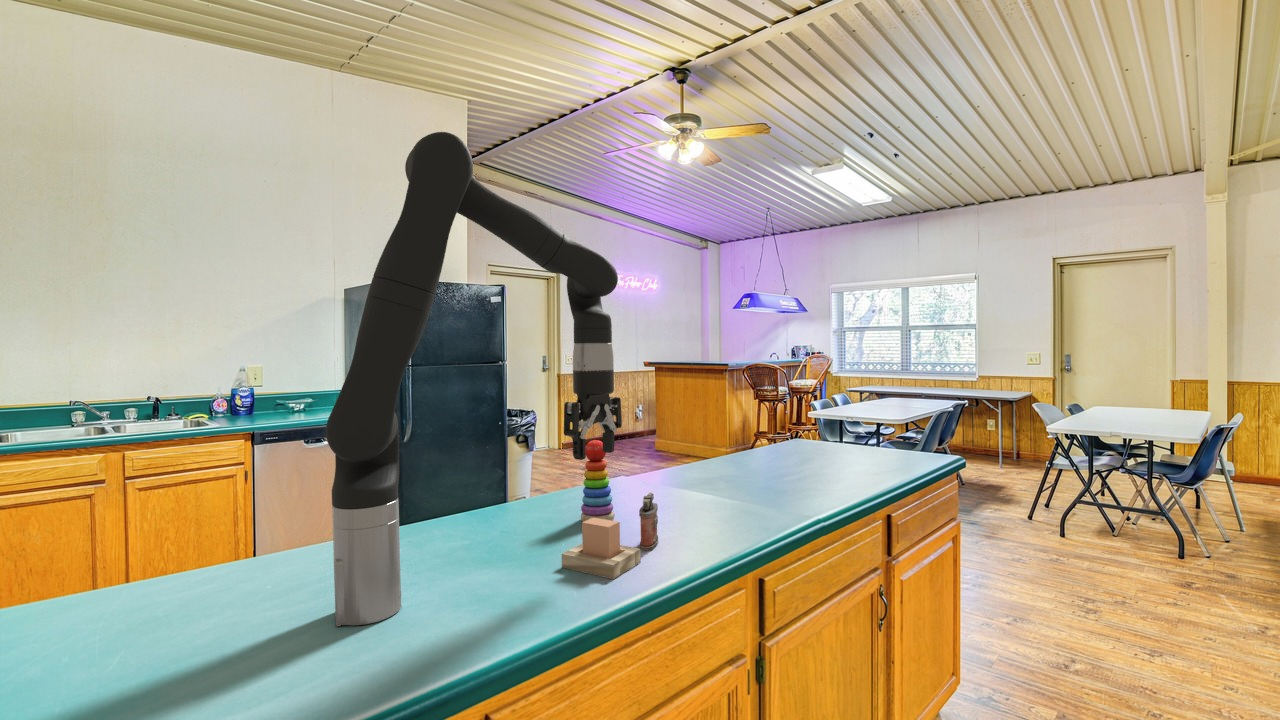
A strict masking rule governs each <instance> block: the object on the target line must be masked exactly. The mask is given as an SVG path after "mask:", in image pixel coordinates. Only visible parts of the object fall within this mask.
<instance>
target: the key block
mask: <svg viewBox="0 0 1280 720" xmlns="http://www.w3.org/2000/svg"><path fill="white" fill-rule="evenodd" d="M620 526H621V525H620V521H616V520H612V521H611V520H605V519H599V518H591V519H589V520H587V521H584V522H583V521H582V523H581V530H582V531H581V532H582V533H581V535H582V537H581V539H582V543H583V554H588V555H593V556H597V557H602V558H607V559H612V558H613V557H615V556H617V555H619V554H620V545H621V537H620V536H621V534H620V533H621V531H620V529H621V527H620Z"/></svg>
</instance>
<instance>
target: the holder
mask: <svg viewBox="0 0 1280 720" xmlns="http://www.w3.org/2000/svg"><path fill="white" fill-rule="evenodd" d="M641 556H642V555H641V550H640V548H638V547H637V548H636V547H632V546H627V545H622V544H620V554H619V555H617V556H615V557H613V558H612V559H607V558H602V557H597V556H593V555H588V554H583V542H581V544H579V545H577V546H574V547H573V548H571V549H569V550H566V551H564V552H562V553H561V568H563V569H568V570H572V571H577V572H581V573H584V574H590V575H595V576H598V577H603V578H606V579H611V580H616V579H617V578H618V577H619V576H621V575H624V574H625V573H626V572H627V571H629V570H631V569H633V568H634V567H636V566H637V565H639V564H640V563H641V558H642V557H641Z"/></svg>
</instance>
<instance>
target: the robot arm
mask: <svg viewBox="0 0 1280 720" xmlns="http://www.w3.org/2000/svg"><path fill="white" fill-rule="evenodd" d="M472 157H473V156H472V154H471V152H470V149H469V148H468V145H466V143H465V142H464V141H463V140H462V139H461V138H460V137H458V136H457V135H455V134H453V133H450V132H446V131H437V132H432V133H429V134H427V135H425V136H423V137H422V138H420V139H419V140H418V141H417V142H416V143H415V145H414V146H413V148H412V149H411V151H410V152H409V153H408V156H407V158H406V161H405V166H404V169H405V170H404V171H405V176H406V179H407V181H408V186H407V189H406V192H405V193H406V195H405V200H404V203H403V207H402V210H401V212H400V216H399V218H398V219H397V222H396V225H395V226H394V228H393V230H392V233H391V234H390V236H389V238H388V240H387V242H386V244H385V246H384V248H383V251H382V253H381V256H380V258H379V260H378V263H377V265H376V267H375V270H374V273H373V275H372V276H373V277H372V278H371V283H370V285H369V288H368V291H367V292H368V293H367V295H366V299H365V303H364V307H363V311H362V314H361V315H362V316H361V319H360V324H359V326H358V327H359V328H358V331H357V335H356V339H355V340H356V342H355V345H354V352H353V356H352V361H351V363H350V365H349V366H350V367H349V370H348V373H347V374H346V377H345V380H344V382H343V385H342V387H341V390H340V391H339V393H338V394H339V395H338V396H337V399H336V401H335V403H334V405H333V407H332V410H331V411H330V413H329V416H328V419H327V422H326V426H325V438H326V442H327V444H328V446H329V449H330V450H331V451H332V452H333V453H334V455H335V456H334V457H335V458H334V459H335V460H334V461H335V462H334V464H335V467H334V478H333V483H332V487H331V506H332V508H331V509H332V537H333V538H332V541H333V542H332V543H333V552H332V553H333V581H334V583H333V585H334V612H335V613H334V615H335V619H334V620H335V627H341V625H342V626H361V625H369V624H373V623H377V622H381V621H384V620H386V619H389V618H390V617H392V616H394V615H395V614H397V613H398V612H399V611H400V610H401V608H402V582H401V581H402V580H401V578H402V577H401V575H402V574H401V549H400V548H401V546H400V545H401V544H400V543H401V542H400V514H399V513H400V512H399V511H400V509H399V506H400V505H399V483H400V482H399V481H400V479H399V478H400V437H399V436H400V434H399V431H400V430H399V420H398V417H397V413H396V407H397V403H398V398H399V392H400V388H401V385H402V381H403V377H404V373H405V371H406V369H407V366H408V365H409V362H410V361H411V359H412V356H413V354H414V353H415V351H416V348H417V347H418V345H419V342H420V340H421V338H422V336H423V333H424V331H425V328H426V325H427V324H428V321H429V317H430V314H431V311H432V308H433V304H434V301H435V298H436V293H437V289H438V285H439V281H440V277H441V274H442V269H443V265H444V261H445V256H446V251H447V247H448V241H449V237H450V233H451V230H452V226H453V224H454V220H455V218H456V217H457V216H456V215H457V214H458V215H460V216H463V218H466V219H468V220H470V221H471V222H473V223H475V224H477V225H478V226H479V227H482V228H483V229H485V230H487V231H488V232H490V233H491V234H493V235H494V236H496V237H498V238H499V239H500V240H501V241H504V242H505V243H506V244H508V245H509V246H511V247H512V248H514V249H515V250H517V251H518V252H519V253H520V254H522V255H524V256H525V257H526V258H528V259H529V260H531V261H532V262H533V263H534V264H537V266H539V267H541V268H542V269H544V270H546V271H548V272H549V273H552V274H559V275H560V274H561V275H562V276H565V277H566V278H567V279H566V292H567V298H568V303H569V307H570V312H571V314H572V320H573V349H572V388H573V389H572V392H573V394H575V395H576V398H577V399H576V402H573V401H565V402H564V405H563V407H564V408H563V411H564V412H563V435H564V436H566V437H570V438H571V440H572V456H573V459H575V460H579V461H583V460H586V459H587V457H586V439H585V438H586V435H587V432H588V430H589V429H591V428H592V426H593V425H595V424H598V425H600V428H601V430H602V431H603V432H602V436H601V437H602V442H603V451H604V452H606V454H608V453H609V454H610V453H613V452H614V451H615V433H616V432H617V429H621V428H623V427H622V426H623V423H622V402H621V401H622V400H621V397H619V396H610V395H611V394H613V393H614V391H615V379H614V378H615V377H614V373H615V372H614V369H615V367H614V350H613V337H612V336H613V335H612V334H613V329H612V318H611V316H610V314H609V313H608V312H606V311H604V309H603V305H602V300H601V299H602V298H603V297H606V296H608V295H610V294H611V293H612V292H613V291H614V290H615V289H616V287H617V286H618V282H619V278H618V277H619V276H618V272H617V270H616V268H615V266H614V265H613V263H612V262H611V261H610V260H609V259H608V258H606V257H605V256H604V255H602V254H601V253H598V251H595V250H593V249H591V248H589V247H587V246H585V245H583V244H581V243H578V242H576V241H574V240H572V239H571V238H569V237H568V236H567V235H566V234H565V233H563V232H561V230H558V228H556V227H555V226H553V225H552V224H551V223H550V222H548V221H547V220H545V219H544V218H542V217H540V216H539V215H537V214H535V213H533V212H532V211H530V210H528V209H526V208H524V207H522V206H520V205H518V204H515V203H513V202H511V201H509V200H507V199H505V198H503V197H502V196H500V195H498V194H496V193H495V192H493V191H492V190H491V189H489V188H488V187H486V186H485V185H484V184H482V183H481V182H480V181H479V180H478V179H477V178H475V177H474V176H473V173H474V161H473V158H472ZM601 297H602V298H601ZM614 416H615V418H614ZM614 420H615V421H614ZM571 424H572V426H571ZM571 427H572V428H571Z"/></svg>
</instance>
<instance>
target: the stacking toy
mask: <svg viewBox="0 0 1280 720" xmlns="http://www.w3.org/2000/svg"><path fill="white" fill-rule="evenodd" d="M585 447H586V459H587V461H586V462H585V464H584V465H585V469H586V470H585V471H584V473H583V475H584V480H583V486H584V487H583V489H582V494H583V496H582V505H581V506H580V509H581V512H582V513H580V520H581V521H582V522H584V521H587V520H589V519H591V518H599V519H605V520H611V521H614V518H615V512H614V511H613V510H614V505H613V503H612V502H613V496H612V494H611V493H612V492H611V491H612V488H611V487H610V486H609V485H610V478H608V474H609V473H608V470H607V469H606V468H607V467H608V464H607V462H606V460H604V458H605V457H606V455H607V452H604V451H603V441H602V440H599V439H597V440H596V439H593V440H590V441H588V442H587V443H586V444H585Z"/></svg>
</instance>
